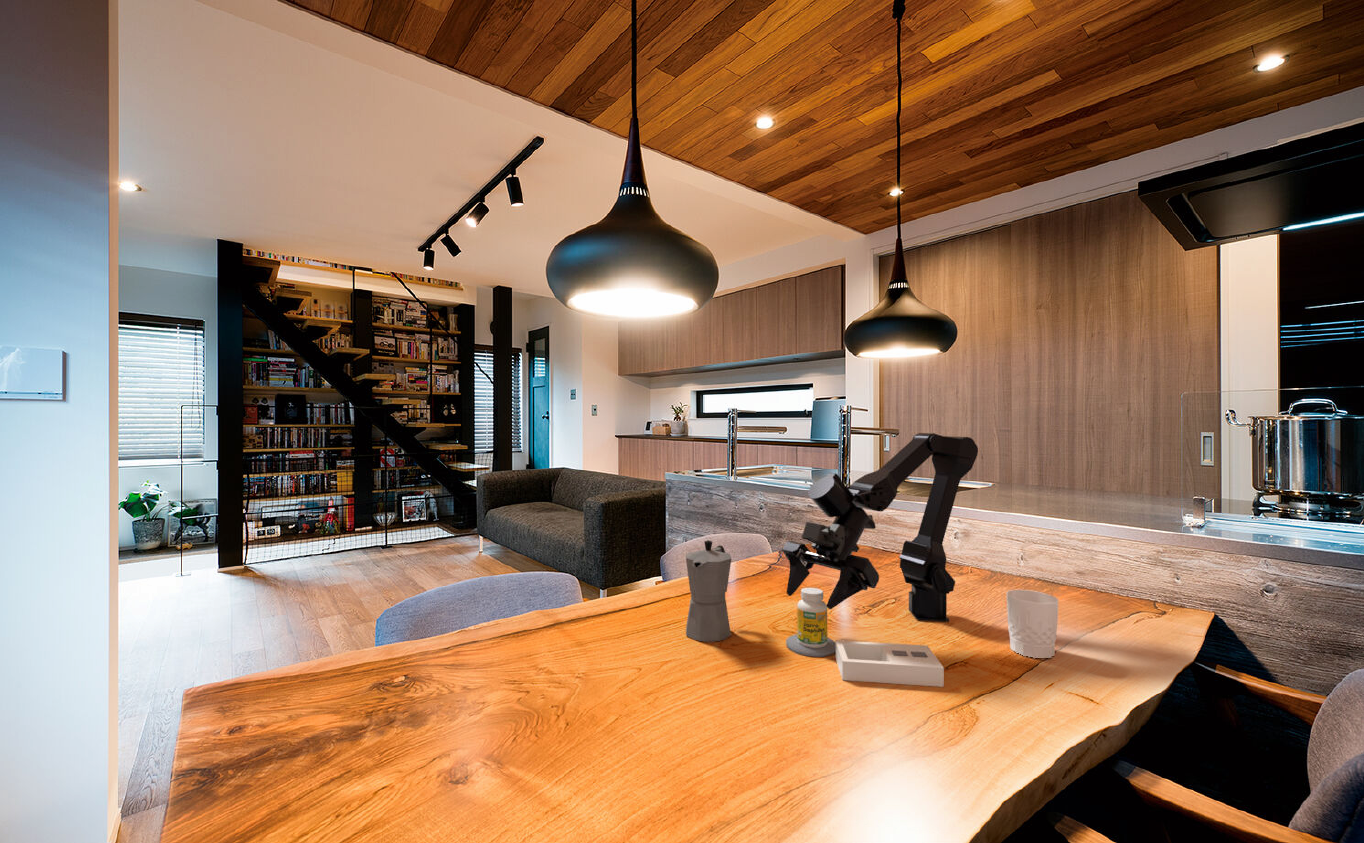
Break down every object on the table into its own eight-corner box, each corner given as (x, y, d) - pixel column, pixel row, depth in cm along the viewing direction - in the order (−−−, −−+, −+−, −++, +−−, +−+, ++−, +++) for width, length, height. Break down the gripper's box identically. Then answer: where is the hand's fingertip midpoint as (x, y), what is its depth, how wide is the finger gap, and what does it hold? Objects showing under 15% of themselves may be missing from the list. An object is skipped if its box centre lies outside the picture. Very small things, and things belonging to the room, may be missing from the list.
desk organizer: (927, 663, 94) (927, 644, 94) (943, 686, 86) (943, 666, 86) (835, 657, 96) (835, 639, 96) (842, 680, 88) (842, 660, 88)
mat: (833, 638, 105) (833, 635, 105) (840, 658, 96) (840, 654, 96) (785, 635, 106) (785, 632, 106) (787, 655, 97) (787, 651, 97)
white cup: (1017, 639, 105) (1017, 586, 105) (1065, 653, 98) (1065, 597, 98) (998, 649, 100) (998, 594, 100) (1047, 665, 94) (1047, 606, 94)
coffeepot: (720, 650, 99) (720, 550, 99) (672, 641, 103) (672, 545, 103) (744, 621, 114) (744, 534, 114) (701, 615, 117) (701, 530, 117)
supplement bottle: (823, 637, 104) (824, 586, 104) (830, 649, 98) (830, 595, 98) (794, 636, 104) (795, 585, 104) (799, 648, 99) (800, 594, 99)
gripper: (788, 500, 111) (748, 564, 104) (870, 512, 96) (830, 587, 90) (813, 534, 116) (777, 597, 109) (894, 551, 101) (859, 625, 94)
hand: (807, 601), depth 100 cm, fingers open, 9 cm apart
